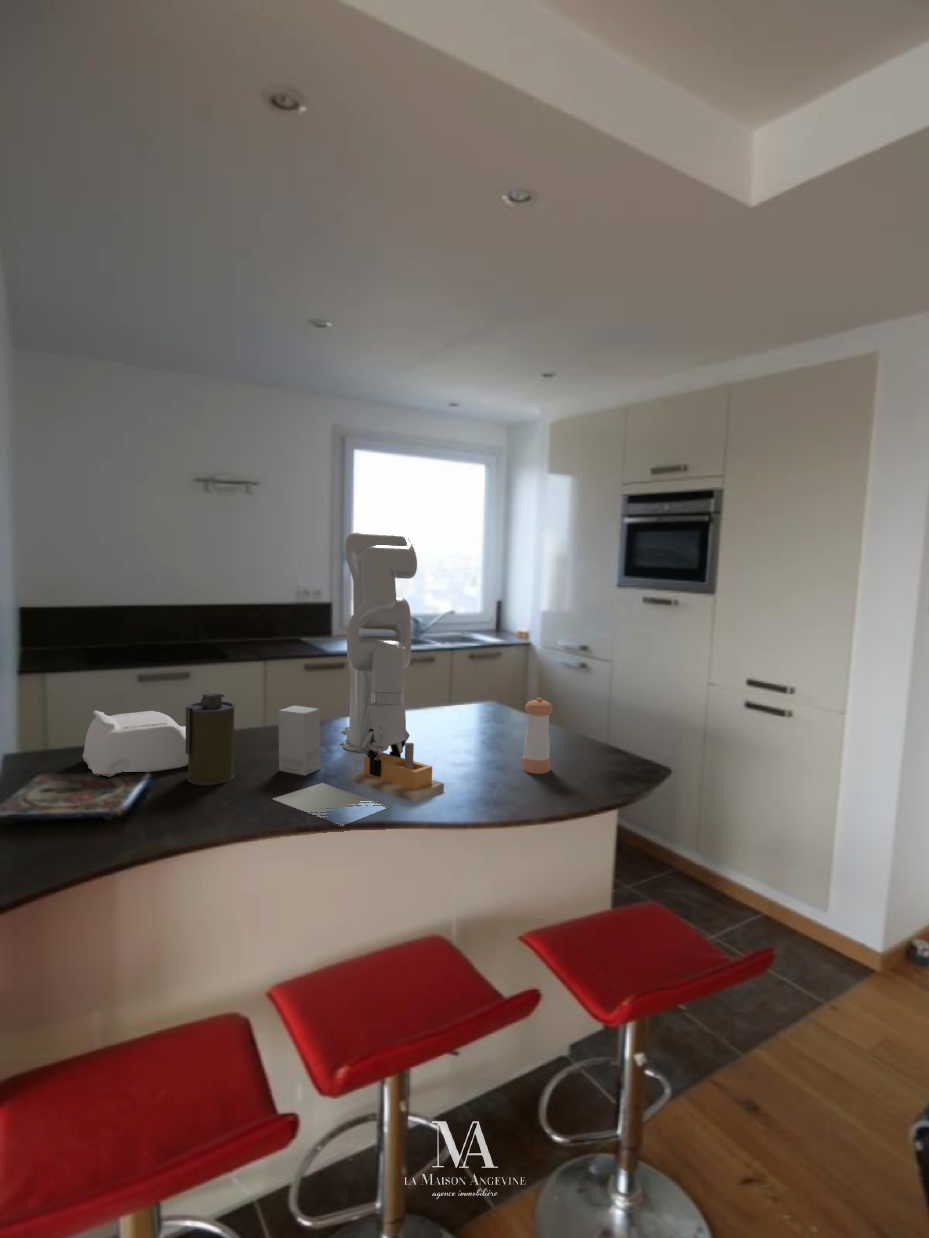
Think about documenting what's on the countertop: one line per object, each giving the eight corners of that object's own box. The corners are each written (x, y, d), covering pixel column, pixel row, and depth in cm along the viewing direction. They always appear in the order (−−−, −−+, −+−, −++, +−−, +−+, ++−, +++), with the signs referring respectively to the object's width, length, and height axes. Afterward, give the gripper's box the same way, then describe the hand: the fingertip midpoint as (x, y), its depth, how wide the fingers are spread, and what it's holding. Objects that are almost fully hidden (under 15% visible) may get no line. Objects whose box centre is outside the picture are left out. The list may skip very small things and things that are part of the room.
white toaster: (79, 761, 166) (79, 708, 165) (203, 745, 185) (203, 697, 183) (93, 783, 151) (92, 725, 150) (226, 763, 170) (227, 711, 168)
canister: (222, 768, 165) (223, 688, 163) (242, 779, 157) (243, 695, 155) (178, 777, 157) (178, 693, 155) (196, 789, 150) (197, 701, 148)
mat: (272, 800, 145) (272, 798, 145) (322, 784, 156) (322, 782, 156) (342, 828, 132) (342, 826, 132) (390, 808, 143) (391, 806, 143)
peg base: (351, 782, 159) (352, 736, 158) (381, 772, 167) (382, 729, 166) (415, 803, 147) (416, 754, 146) (443, 791, 155) (445, 745, 154)
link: (431, 783, 154) (432, 766, 154) (414, 789, 149) (415, 772, 149) (381, 768, 164) (382, 752, 163) (363, 773, 159) (364, 757, 158)
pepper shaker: (515, 769, 173) (519, 697, 171) (532, 764, 178) (536, 693, 177) (538, 776, 168) (542, 702, 167) (555, 770, 174) (559, 698, 172)
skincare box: (320, 769, 167) (322, 708, 165) (304, 777, 161) (305, 713, 159) (294, 764, 170) (295, 704, 169) (276, 771, 164) (277, 709, 163)
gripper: (400, 690, 166) (398, 760, 168) (349, 700, 153) (347, 777, 154) (423, 695, 162) (420, 767, 163) (372, 705, 148) (370, 784, 150)
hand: (385, 771), depth 159 cm, fingers closed on link, 6 cm apart
